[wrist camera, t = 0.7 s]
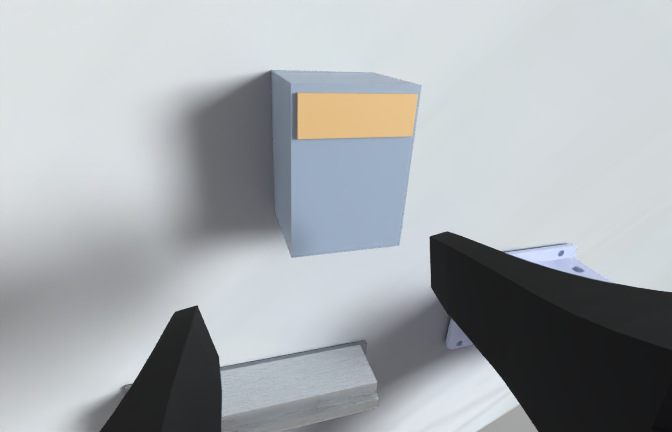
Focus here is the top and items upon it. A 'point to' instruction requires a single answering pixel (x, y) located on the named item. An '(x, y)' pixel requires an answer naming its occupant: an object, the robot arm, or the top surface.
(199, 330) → the robot arm
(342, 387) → the rail plate
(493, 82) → the top surface
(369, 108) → the module block
